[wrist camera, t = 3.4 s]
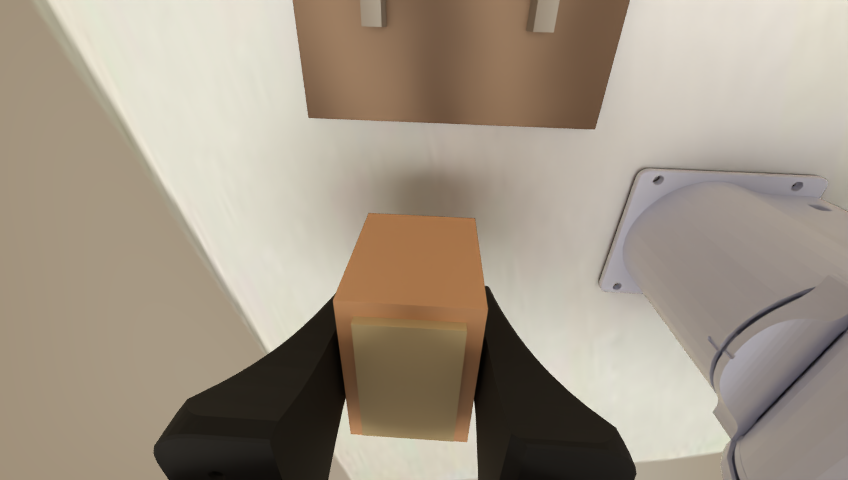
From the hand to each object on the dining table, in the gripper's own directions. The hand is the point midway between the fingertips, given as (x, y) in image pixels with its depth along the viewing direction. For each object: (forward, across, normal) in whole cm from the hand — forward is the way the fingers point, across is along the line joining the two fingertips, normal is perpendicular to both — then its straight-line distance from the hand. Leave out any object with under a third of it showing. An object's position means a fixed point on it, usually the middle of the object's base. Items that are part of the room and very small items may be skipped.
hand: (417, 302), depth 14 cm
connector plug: (+2, 0, 0) cm, 2 cm away
